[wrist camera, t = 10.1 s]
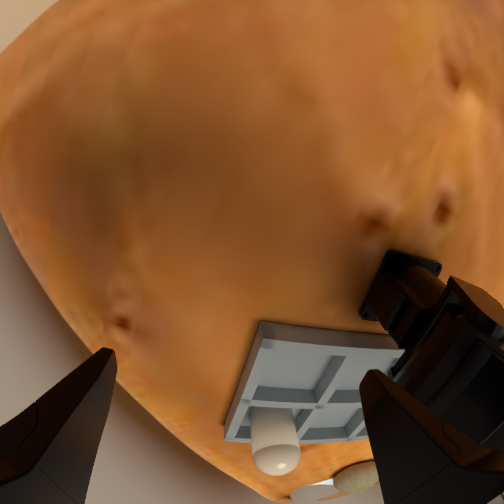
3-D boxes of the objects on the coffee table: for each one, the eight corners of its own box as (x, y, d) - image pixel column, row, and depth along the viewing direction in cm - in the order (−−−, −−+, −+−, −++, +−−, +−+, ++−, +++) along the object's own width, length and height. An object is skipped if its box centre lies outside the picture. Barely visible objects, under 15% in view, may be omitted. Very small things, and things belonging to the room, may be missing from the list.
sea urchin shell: (343, 489, 41) (341, 509, 34) (329, 462, 44) (325, 480, 37) (385, 472, 40) (389, 490, 32) (372, 444, 43) (375, 460, 35)
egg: (297, 401, 28) (312, 463, 20) (283, 423, 29) (294, 481, 22) (255, 398, 27) (262, 465, 20) (244, 421, 29) (249, 481, 21)
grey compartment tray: (455, 338, 27) (464, 349, 25) (390, 423, 33) (395, 434, 31) (260, 320, 23) (263, 338, 21) (223, 425, 29) (223, 441, 27)
